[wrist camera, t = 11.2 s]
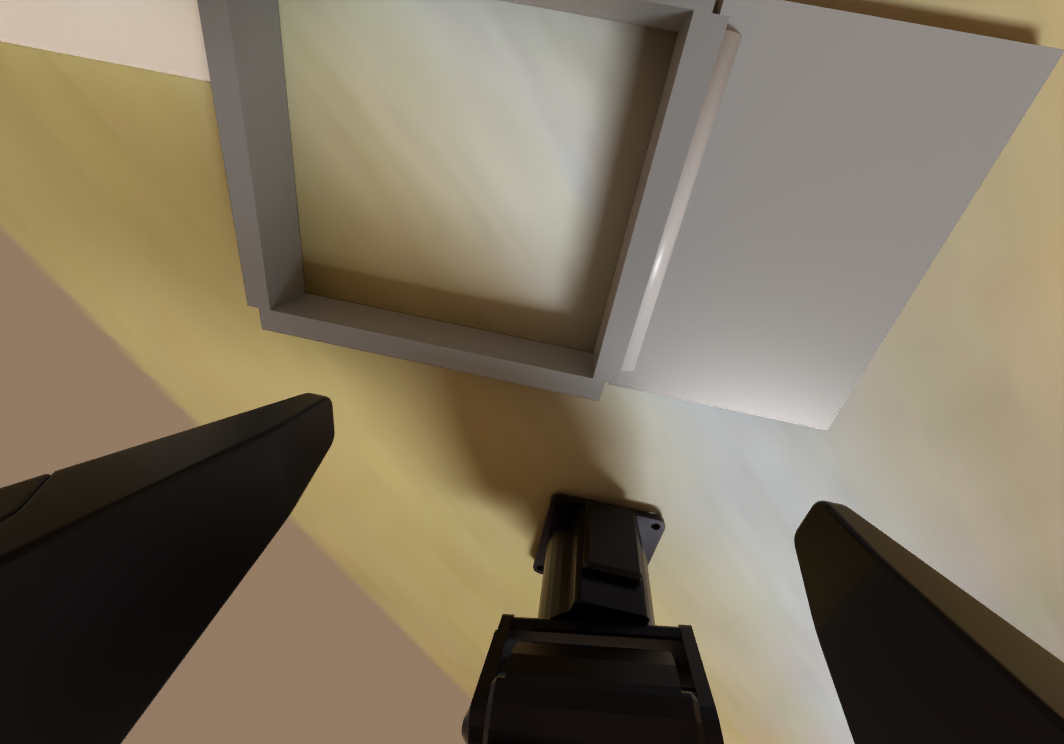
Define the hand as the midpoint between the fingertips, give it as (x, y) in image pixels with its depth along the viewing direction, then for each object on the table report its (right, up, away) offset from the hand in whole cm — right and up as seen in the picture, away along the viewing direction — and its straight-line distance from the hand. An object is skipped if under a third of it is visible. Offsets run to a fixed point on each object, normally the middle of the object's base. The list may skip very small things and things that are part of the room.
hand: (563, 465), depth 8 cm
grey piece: (+1, +8, +9) cm, 12 cm away
